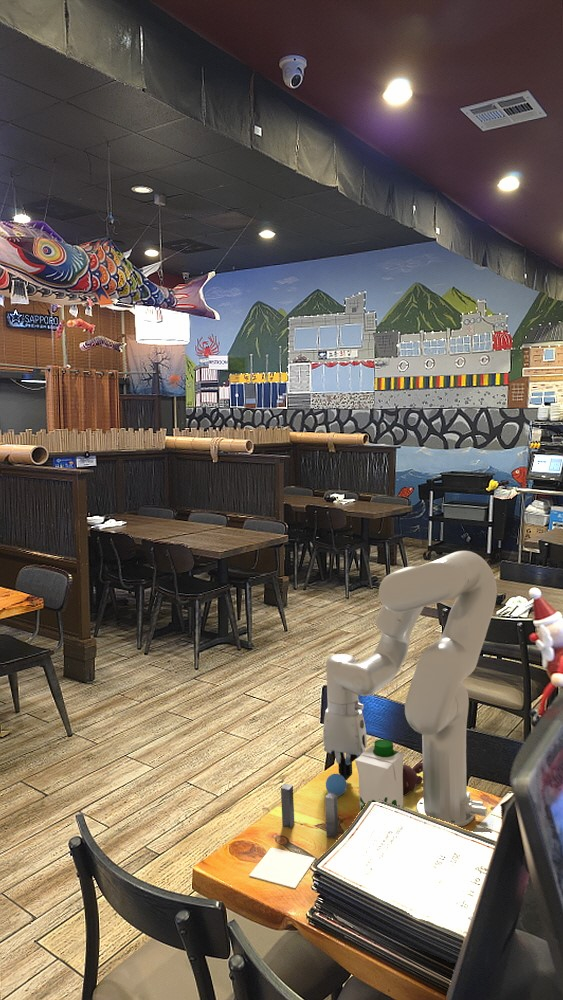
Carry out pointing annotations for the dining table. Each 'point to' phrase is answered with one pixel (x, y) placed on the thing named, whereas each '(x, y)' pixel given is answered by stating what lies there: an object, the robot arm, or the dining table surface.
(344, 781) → the ball
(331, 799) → the right post
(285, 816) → the left post
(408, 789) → the icecream
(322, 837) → the dining table surface
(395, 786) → the milk carton
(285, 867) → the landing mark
